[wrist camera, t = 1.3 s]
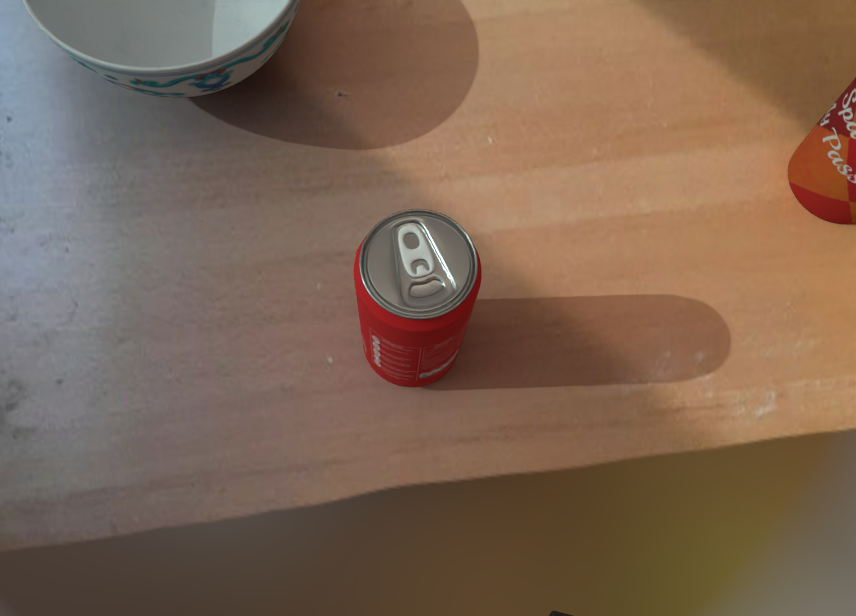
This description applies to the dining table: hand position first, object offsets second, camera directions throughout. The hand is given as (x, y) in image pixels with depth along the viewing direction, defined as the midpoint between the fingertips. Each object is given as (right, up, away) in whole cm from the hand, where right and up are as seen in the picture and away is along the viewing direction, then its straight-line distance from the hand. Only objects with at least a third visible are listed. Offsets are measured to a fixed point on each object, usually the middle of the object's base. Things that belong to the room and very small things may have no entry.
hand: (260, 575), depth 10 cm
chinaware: (-12, +20, +36) cm, 43 cm away
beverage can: (+1, +2, +30) cm, 30 cm away
